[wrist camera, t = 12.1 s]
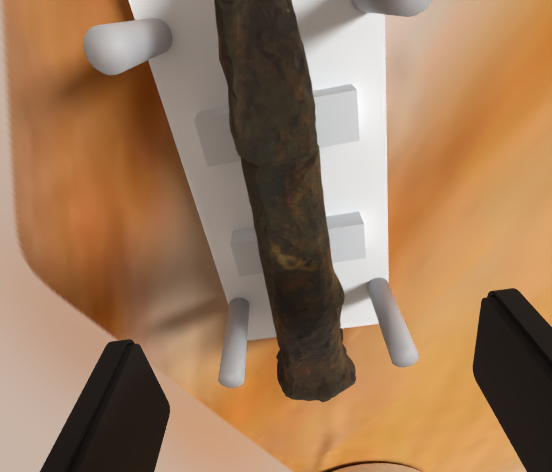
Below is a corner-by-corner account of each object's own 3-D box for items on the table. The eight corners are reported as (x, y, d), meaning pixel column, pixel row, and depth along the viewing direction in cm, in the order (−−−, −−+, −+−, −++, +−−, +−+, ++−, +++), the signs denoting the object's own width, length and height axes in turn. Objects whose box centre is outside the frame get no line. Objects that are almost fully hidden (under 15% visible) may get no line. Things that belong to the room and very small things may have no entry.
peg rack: (385, 312, 23) (416, 396, 18) (241, 332, 24) (233, 417, 19) (376, -116, 12) (446, -193, 8) (116, -57, 13) (26, -91, 8)
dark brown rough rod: (345, 340, 21) (363, 416, 17) (277, 346, 22) (279, 423, 18) (336, -83, 11) (372, -129, 7) (208, -64, 12) (177, -100, 8)
